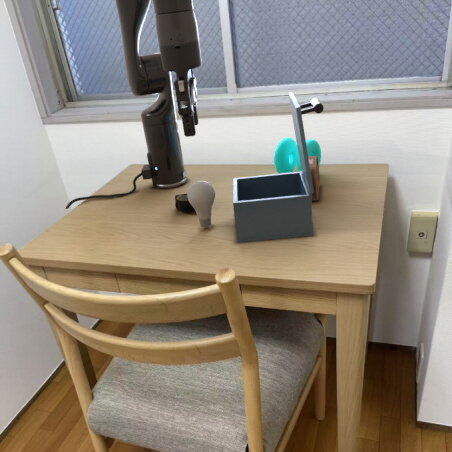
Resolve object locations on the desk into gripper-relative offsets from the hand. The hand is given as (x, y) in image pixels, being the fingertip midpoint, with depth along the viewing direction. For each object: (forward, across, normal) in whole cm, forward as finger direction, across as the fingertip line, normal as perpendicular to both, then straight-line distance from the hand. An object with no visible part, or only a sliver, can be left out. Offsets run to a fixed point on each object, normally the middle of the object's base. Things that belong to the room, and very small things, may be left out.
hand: (192, 130), depth 97 cm
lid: (+4, +2, +21) cm, 22 cm away
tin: (+22, -14, +26) cm, 37 cm away
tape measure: (+22, -12, -5) cm, 26 cm away
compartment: (+22, +1, +15) cm, 26 cm away
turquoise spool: (+22, -28, +24) cm, 43 cm away
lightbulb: (+22, 0, 0) cm, 22 cm away
